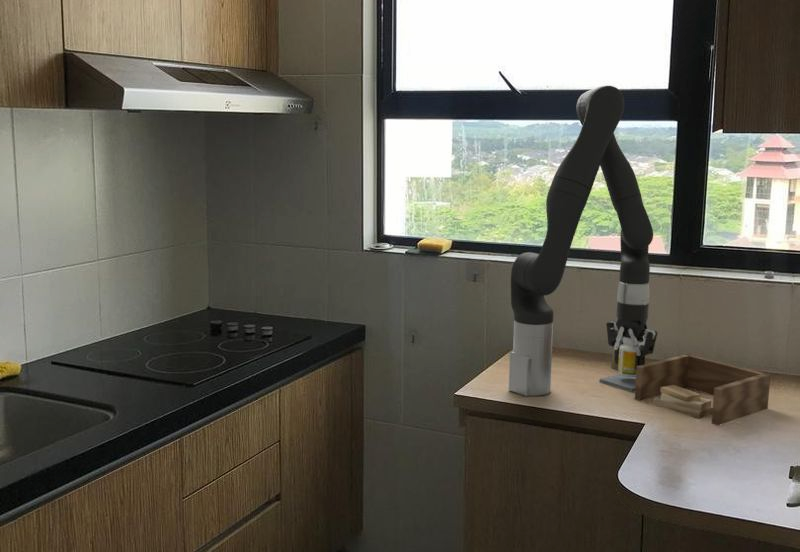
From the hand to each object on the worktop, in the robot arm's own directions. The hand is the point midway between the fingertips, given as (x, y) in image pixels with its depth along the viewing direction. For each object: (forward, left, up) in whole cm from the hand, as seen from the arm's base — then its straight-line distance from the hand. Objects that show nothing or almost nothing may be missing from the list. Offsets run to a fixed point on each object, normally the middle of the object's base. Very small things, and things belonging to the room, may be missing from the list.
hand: (629, 366), depth 219 cm
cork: (+10, +10, -4) cm, 15 cm away
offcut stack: (-6, -20, -4) cm, 21 cm away
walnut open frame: (0, -20, -4) cm, 21 cm away
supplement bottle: (0, 0, -2) cm, 2 cm away
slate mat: (0, 0, -4) cm, 4 cm away
